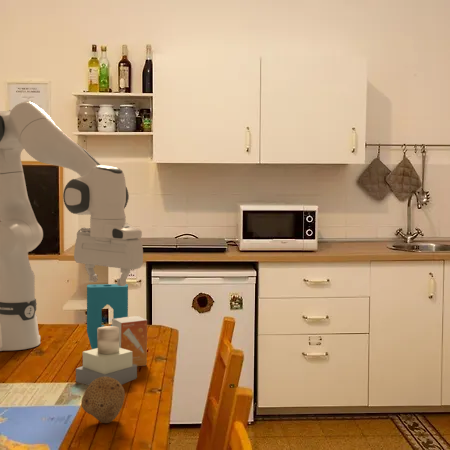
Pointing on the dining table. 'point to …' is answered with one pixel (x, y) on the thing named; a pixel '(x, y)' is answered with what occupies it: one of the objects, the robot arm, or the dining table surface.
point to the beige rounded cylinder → (108, 339)
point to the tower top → (107, 360)
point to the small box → (133, 337)
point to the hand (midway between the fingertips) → (107, 283)
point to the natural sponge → (103, 399)
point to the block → (98, 300)
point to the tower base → (106, 375)
